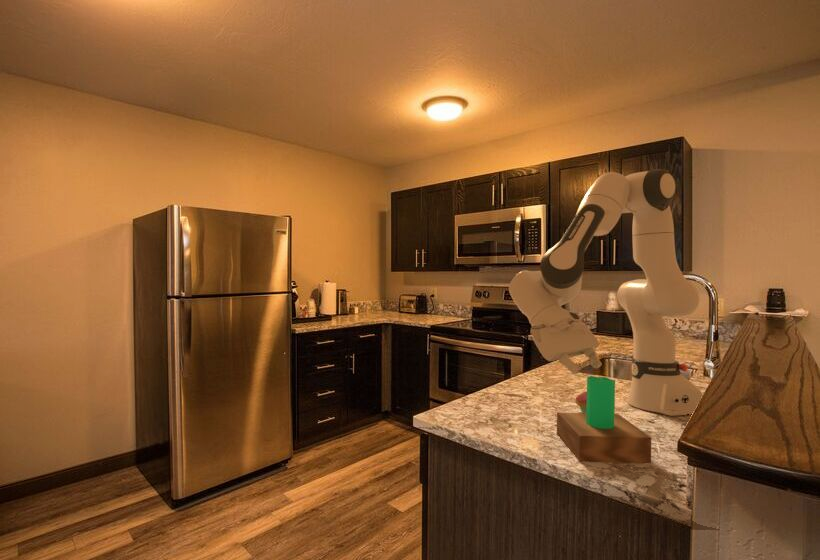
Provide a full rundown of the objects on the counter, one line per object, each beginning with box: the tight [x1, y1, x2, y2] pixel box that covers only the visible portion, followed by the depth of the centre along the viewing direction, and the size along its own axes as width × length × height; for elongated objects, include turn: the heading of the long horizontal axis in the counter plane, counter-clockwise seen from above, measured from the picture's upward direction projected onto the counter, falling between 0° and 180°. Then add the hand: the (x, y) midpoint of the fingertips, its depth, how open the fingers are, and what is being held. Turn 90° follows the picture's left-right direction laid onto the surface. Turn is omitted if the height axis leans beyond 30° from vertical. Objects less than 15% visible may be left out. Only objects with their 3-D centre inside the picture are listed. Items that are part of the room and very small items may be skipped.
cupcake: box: [575, 391, 587, 413], centre depth 115 cm, size 9×8×12 cm
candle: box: [586, 375, 616, 429], centre depth 95 cm, size 6×6×12 cm
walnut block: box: [556, 411, 652, 464], centre depth 95 cm, size 15×15×6 cm
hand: (588, 369), depth 97 cm, fingers open, 8 cm apart
